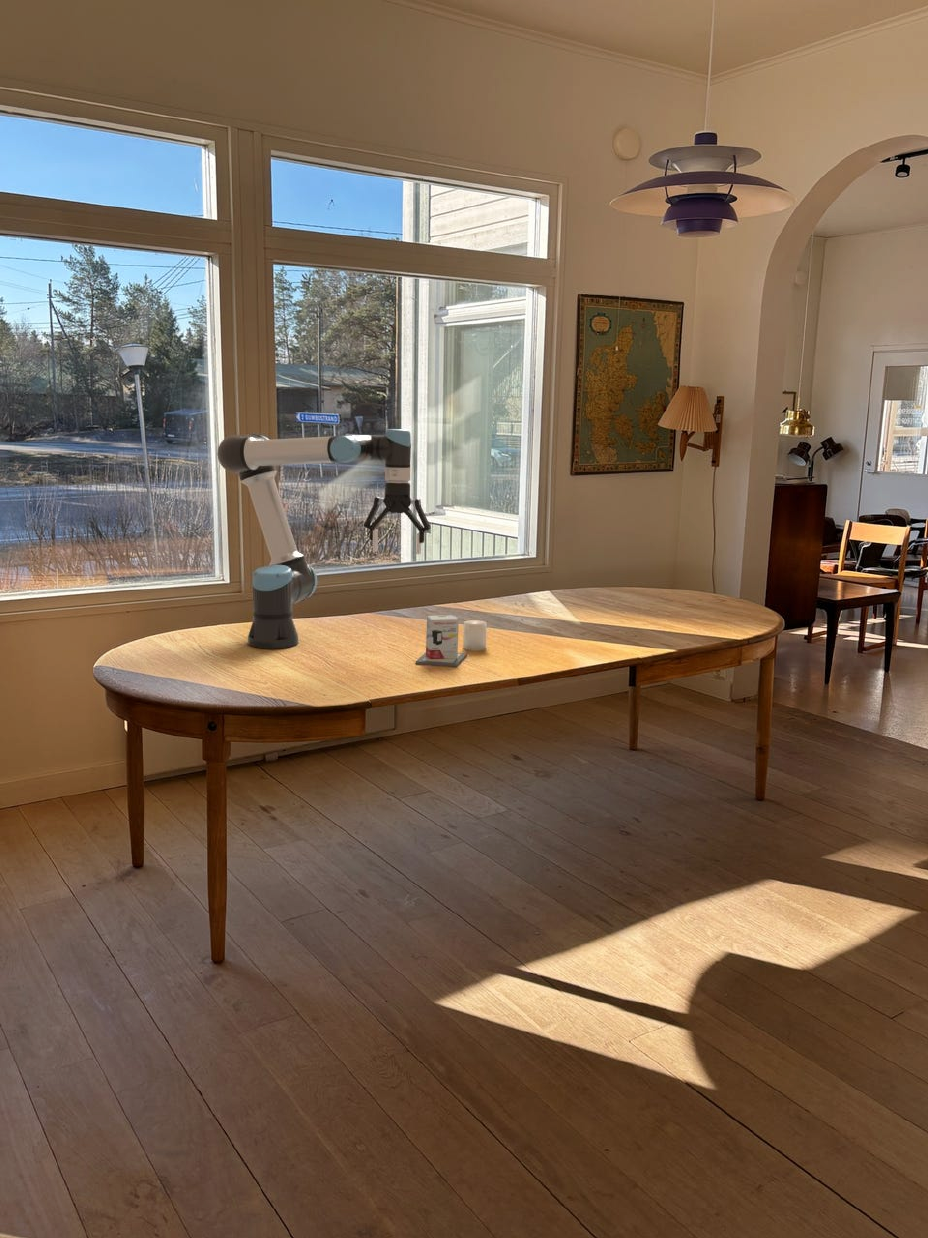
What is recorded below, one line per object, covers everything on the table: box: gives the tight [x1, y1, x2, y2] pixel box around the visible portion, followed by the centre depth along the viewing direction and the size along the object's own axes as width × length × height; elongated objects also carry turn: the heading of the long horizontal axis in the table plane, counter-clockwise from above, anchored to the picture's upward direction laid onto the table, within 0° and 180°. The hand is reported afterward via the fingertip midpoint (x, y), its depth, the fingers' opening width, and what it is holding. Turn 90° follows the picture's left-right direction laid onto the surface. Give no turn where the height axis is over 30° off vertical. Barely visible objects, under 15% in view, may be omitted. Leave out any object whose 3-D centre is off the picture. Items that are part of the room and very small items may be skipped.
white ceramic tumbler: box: [462, 619, 488, 652], centre depth 309 cm, size 7×7×8 cm
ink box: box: [425, 614, 460, 659], centre depth 292 cm, size 9×5×12 cm, turn 105°
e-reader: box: [415, 651, 468, 668], centre depth 293 cm, size 12×14×1 cm
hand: (396, 552), depth 305 cm, fingers open, 13 cm apart
